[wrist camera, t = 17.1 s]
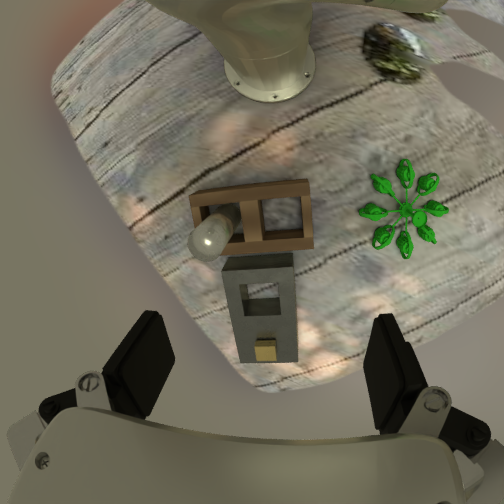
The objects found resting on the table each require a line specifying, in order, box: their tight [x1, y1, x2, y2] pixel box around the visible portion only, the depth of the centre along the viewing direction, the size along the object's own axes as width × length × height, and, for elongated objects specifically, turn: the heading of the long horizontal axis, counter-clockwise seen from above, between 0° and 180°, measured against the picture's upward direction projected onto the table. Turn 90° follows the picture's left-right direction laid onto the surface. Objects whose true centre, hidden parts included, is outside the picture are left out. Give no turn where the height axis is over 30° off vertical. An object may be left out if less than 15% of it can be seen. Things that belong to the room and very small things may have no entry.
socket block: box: [221, 253, 298, 363], centre depth 43 cm, size 18×10×5 cm, turn 7°
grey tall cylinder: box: [188, 203, 242, 262], centre depth 35 cm, size 4×4×12 cm
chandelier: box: [359, 159, 449, 259], centre depth 33 cm, size 15×15×7 cm
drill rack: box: [189, 179, 314, 255], centre depth 38 cm, size 9×16×4 cm, turn 97°
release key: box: [254, 340, 277, 361], centre depth 44 cm, size 3×3×6 cm
